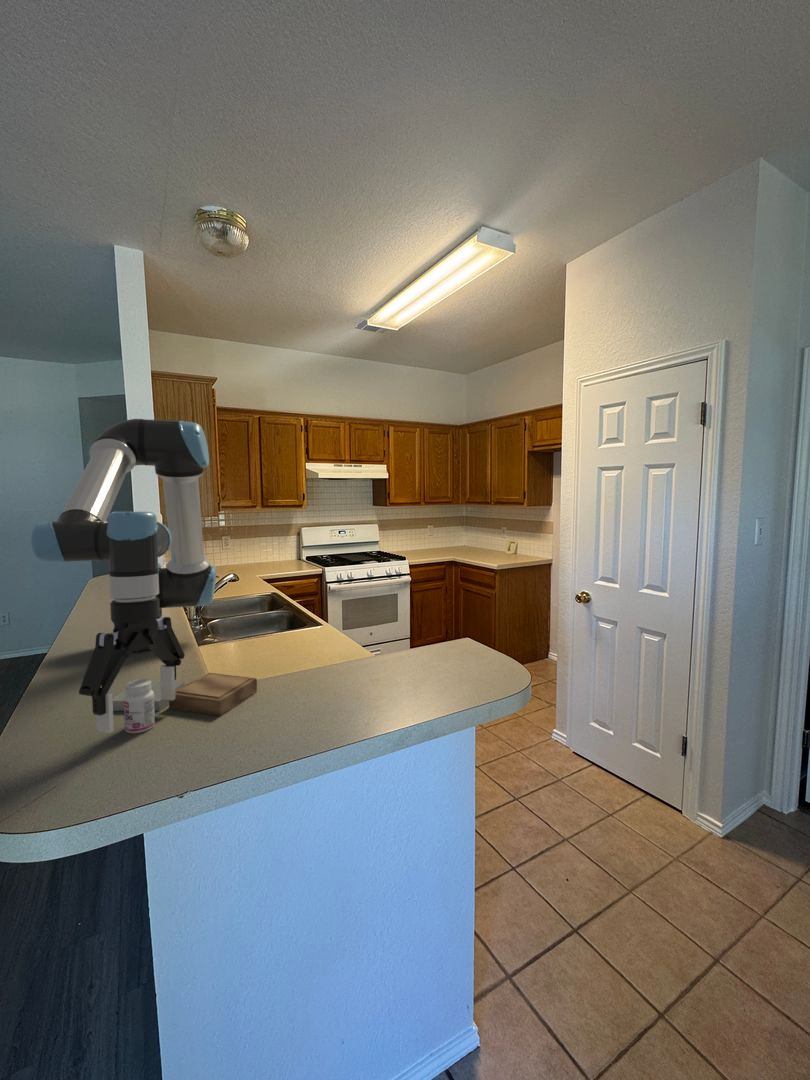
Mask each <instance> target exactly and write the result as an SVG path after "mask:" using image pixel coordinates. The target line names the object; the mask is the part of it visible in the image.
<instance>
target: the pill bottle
mask: <svg viewBox="0 0 810 1080" xmlns="http://www.w3.org/2000/svg"><path fill="white" fill-rule="evenodd" d="M151 682H152V680H151V679H149V678H141V679H140V678H139V679H135V680H131V681H129V682H127V683H126V685H125V690H126V695H125V696H124V711H123V714H124V731H125V732H126V733H128V734H140V733H145V732H147V731H149V730H150V729H151V730H152V728H154V727H155V725H156V724H155V723H156V718H155V717H156V713H155V712H156V711H155V709H154V692H153V691H152V690H151Z"/></svg>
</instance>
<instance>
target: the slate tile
mask: <svg viewBox="0 0 810 1080" xmlns="http://www.w3.org/2000/svg"><path fill="white" fill-rule="evenodd" d="M185 685H186V684H185V681H175V690H177V689H179V688H181V687H183V686H185ZM151 690H152V691H153V692H154V709H155V712H161V711H162V710H163V709H164V708H166V707H167V706H169V700H165V699H161V683H160V681H151ZM125 695H126V689H125V690H123V691H121V692H120V693H119V694H117V695H115V696H114V697H112V698H113V712H119V711H120V712H124V696H125Z"/></svg>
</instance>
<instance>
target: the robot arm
mask: <svg viewBox="0 0 810 1080" xmlns="http://www.w3.org/2000/svg"><path fill="white" fill-rule="evenodd" d="M88 453H89V457H90V458H89V460H88V463H87V465H86V467H85V468H84V470H83V471H82V474H81V476H80V477H79V479H78V481H77V483H76V485H75V487H74V489H73V490H72V493H71V494H70V496H69V498H68V500H67V502H66V504H65V506H64V508H63V509H62V511H61V513H60V515H59V516H58V518H57V520H56V521H54V520H49V521H42V522H39V523H36V525H35V526H34V527H33V529H32V532H31V536H30V537H31V538H30V540H31V541H30V542H31V543H30V544H31V549H32V551H33V554H34V555H35V557H36V558H37V559H39V560H40V561H43V562H62V563H66V562H68V563H69V562H86V561H87V562H88V561H89V562H90V561H91V562H92V561H94V562H95V561H108V566H109V567H108V569H109V576H108V577H109V597H110V598H111V599H113V600H112V601H111V602H110V604H109V606H110V620H111V623H113V629H112V632H108V633H105V632H98V633H97V634H96V635H95V646H94V647H95V648H94V650H93V653H92V655H91V658H90V660H89V663H88V666H87V669H86V670H85V671H86V672H85V674H84V677H83V679H82V682H81V684H80V687H79V690H78V695H81V696H86V697H91V701H92V702H91V703H92V705H91V706H92V713H93V715H94V716H96V719H95V720H96V732H100V733H104V734H111V733H113V732H115V730H114V728H115V727H114V726H115V725H114V711H113V698H114V697H113V693H112V692H109V691H110V689H111V687H112V686H113V684H114V682H115V680H116V678H117V676H118V675H119V673H120V671H121V669H122V667H123V665H124V663H125V661H126V660H127V659H128V658H130V657H131V655H132V654H133V653H136V652H137V653H138V652H139V653H140V652H144V651H150V652H152V653H153V654H154V655H155V657H157V658H158V659H159V660H160V661H161V662H162V663H163V665H160V666H159V676H160V677H159V678H160V679H159V680H160V681H159V682H160V683H161V699H165V700H172V701H173V700H174V699H175V682H176V680H177V666H180V665H181V664H182V660H183V659H184V658H185V652H184V650H183V647H181V644H180V642H179V640H178V638H177V636H176V633H175V631H174V628H173V626H172V618H171V617H169V616H163V609H168V608H169V609H170V608H187V607H188V608H190V607H195V608H197V607H202V606H209V605H211V604H212V602H213V600H214V595H215V589H216V579H217V567H216V566H213V565H211V561H210V559H209V558H208V557H206V556H205V553H204V552H205V550H204V539H203V537H204V536H203V526H202V513H201V512H202V511H201V501H200V500H201V499H200V486H199V479H200V477H202V476H203V475H204V471H205V470H204V469H205V468H207V467H209V464H210V457H209V456H210V455H209V448H208V442H207V439H206V435H205V431H204V429H203V428H202V426H201V424H198V423H197V422H192V421H186V420H185V421H183V420H171V419H170V420H169V419H167V420H165V419H146V418H145V419H143V418H131V419H127V420H123V421H120V422H118V423H116V424H114V425H112V426H110V427H108V428H107V429H105V430H104V431H103V432H101V433H100V434H99V435H98V436H97V437H96V438H95V440H93V442H92V444H91V446H90V448H89V452H88ZM136 466H151V467H152V466H154V471H155V475H156V476H158V477H159V478H160V479H162V484H163V494H164V503H165V504H164V505H165V511H166V521H167V526H166V525H165V524H163V523H162V522H159V521H157V520H158V519H157V516H156V514H155V512H153V511H113V512H111V511H112V508H113V506H114V503H115V501H116V498H117V496H118V494H119V492H120V489H121V487H122V485H123V482H124V480H125V477H126V474H128V473H129V472H131V471H132V470H133V469H134V468H135V467H136ZM169 550H170V560H169V561H168V562H167V563H166V565H165V567H162V565H161V563H159V558H161V557H162V556H164V555H165V554H166V552H168V551H169Z"/></svg>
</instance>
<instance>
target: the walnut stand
mask: <svg viewBox="0 0 810 1080" xmlns="http://www.w3.org/2000/svg"><path fill="white" fill-rule="evenodd" d="M256 691H257V692H258V680H257V677H256V678H255V677H249V676H239V675H230V674H222V673H214V672H209V673H207V674H205V675H204V676H201V677H199V678H197V679H195V680H193V681H191V682H189V683H187V684H185V686H183V687H181V688H179V689H177V690H175V699H174V700H173V701H172V700H169V704H168V708H169V709H170V710H177V709H178V711H183V710H184V711H185V712H190V711H192V713H197V712H198V714H204V715H210V716H211V715H212V716H216V717H217V716H218V717H222V716H223V715H225V714H226V713H227V712H229V711H231V710H232V709H234V708H236V707H237V706H238V705H239V703H240V704H241V703H243V702H244V701H246V700H247V699H248V697H249V698H250V697H251V695H252V694H253V693H255V692H256ZM257 692H256V693H257ZM256 693H255V694H256ZM253 695H254V694H253ZM253 695H252V696H253ZM245 699H246V700H245ZM242 701H243V702H242Z"/></svg>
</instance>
